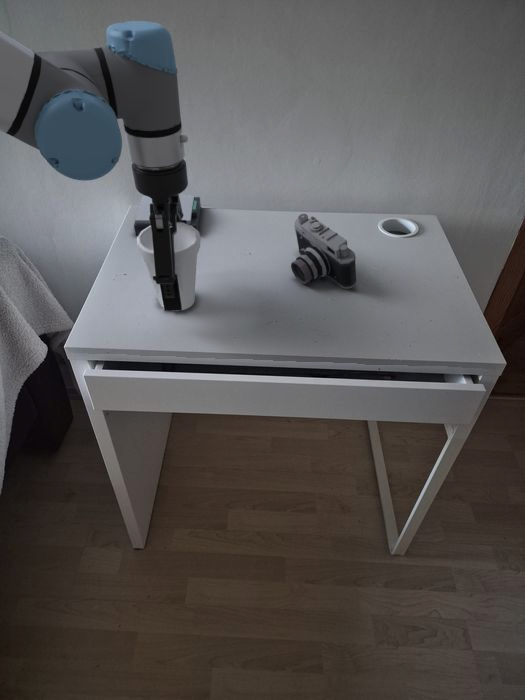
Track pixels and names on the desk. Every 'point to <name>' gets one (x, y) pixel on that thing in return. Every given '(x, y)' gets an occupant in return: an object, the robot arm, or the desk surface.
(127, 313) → the desk surface
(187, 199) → the scale
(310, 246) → the camera
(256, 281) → the desk surface
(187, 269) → the cup
